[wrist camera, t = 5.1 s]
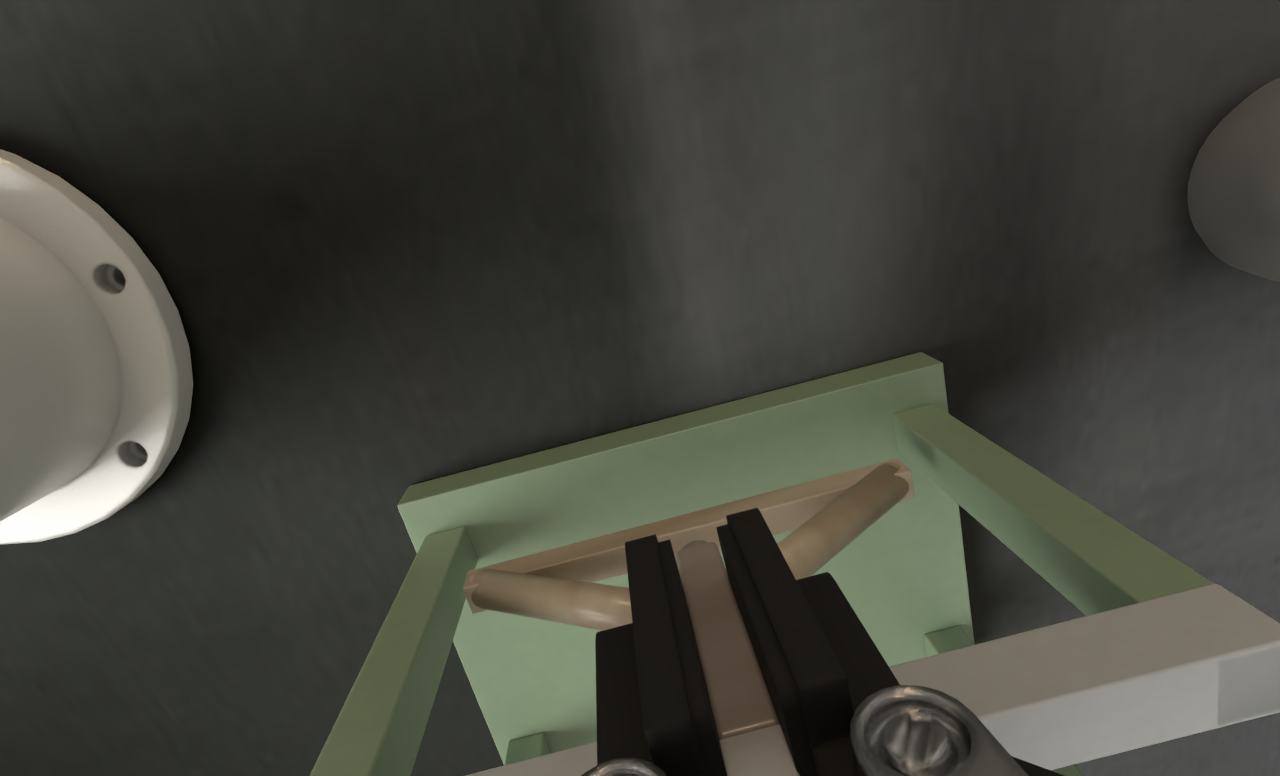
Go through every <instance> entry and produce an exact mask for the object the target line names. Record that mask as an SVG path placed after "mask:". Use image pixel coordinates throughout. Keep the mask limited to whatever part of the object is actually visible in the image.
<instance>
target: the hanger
mask: <svg viewBox="0 0 1280 776" xmlns="http://www.w3.org/2000/svg"><path fill="white" fill-rule="evenodd" d="M914 497H915V496H914V488H913V481H912V473H911V470H910V469H909V468H908V467H906V466H905V465H904V464H903V463H902V462H901V461H900V460H898V459H892V460H888V461H884V462H881V463H877V464H873V465H869V466H865V467H862V468H858V469H854V470H850V471H846V472H843V473H839V474H835V475H831V476H827V477H824V478H820V479H816V480H812V481H808V482H805V483H801V484H797V485H793V486H789V487H786V488H782V489H778V490H774V491H770V492H767V493H763V494H759V495H755V496H751V497H748V498H744V499H740V500H736V501H732V502H729V503H725V504H721V505H717V506H713V507H710V508H706V509H702V510H698V511H694V512H691V513H687V514H683V515H679V516H675V517H672V518H668V519H664V520H660V521H656V522H653V523H649V524H645V525H641V526H637V527H634V528H630V529H626V530H622V531H618V532H615V533H611V534H607V535H603V536H599V537H596V538H592V539H588V540H584V541H580V542H577V543H573V544H569V545H565V546H561V547H558V548H554V549H550V550H546V551H542V552H539V553H535V554H531V555H527V556H523V557H520V558H516V559H512V560H508V561H504V562H501V563H497V564H493V565H489V566H485V567H482V568H478V569H474V570H470V571H468V573H467V577H466V580H465V583H464V586H463V591H464V593H465V596H466V598H467V601H468V603H469V606H470V608H471V611H472V613H473V614H475V613H479V612H483V611H486V610H492V611H497V612H503V613H508V614H514V615H519V616H525V617H530V618H536V619H541V620H547V621H552V622H557V623H563V624H568V625H574V626H579V627H585V628H590V629H596V630H601V631H603V630H607V629H611V628H615V627H619V626H623V625H626V624H630V623H633V622H632V612H631V602H630V592H629V588H627V587H620V586H612V585H605V584H598V583H593V582H597V581H601V580H604V579H608V578H612V577H616V576H620V575H623V574H627V573H628V572H627V562H626V553H625V542H628V541H631V540H635V539H639V538H643V537H647V536H650V535H654V534H656V536H657V539H658V542H662V541H666V540H669V539H670V541H671V544H672V548H673V552H674V555H675V559H676V563H677V566H678V570H679V574H680V578H681V581H682V585H683V589H684V593H685V597H686V601H687V606H688V610H689V614H690V618H691V623H692V627H693V631H694V635H695V640H696V644H697V648H698V652H699V657H700V661H701V665H702V669H703V673H704V678H705V682H706V686H707V690H708V695H709V699H710V703H711V707H712V712H713V716H714V720H715V724H716V729H717V733H718V737H719V742H720V746H721V750H722V754H723V759H724V763H725V767H726V771H727V775H728V776H800V774H799V773H798V772H797V770H796V767H795V765H794V762H793V759H792V756H791V753H790V750H789V748H788V745H787V742H786V739H785V736H784V733H783V731H782V728H781V725H780V724H779V720H778V717H777V714H776V712H775V709H774V706H773V703H772V700H771V697H770V695H769V692H768V689H767V686H766V683H765V681H764V678H763V675H762V672H761V669H760V666H759V664H758V661H757V658H756V655H755V652H754V649H753V647H752V644H751V641H750V638H749V635H748V633H747V630H746V627H745V624H744V621H743V618H742V616H741V613H740V610H739V607H738V604H737V601H736V599H735V596H734V593H733V590H732V587H731V585H730V582H729V579H728V575H727V571H726V568H725V565H724V562H723V559H722V557H721V554H720V551H719V549H721V546H720V542H719V538H718V533H717V528H716V527H719V526H723V525H726V524H727V519H726V516H727V515H730V514H734V513H738V512H742V511H746V510H750V509H753V508H758V509H759V510H760V512H761V514H762V516H763V518H764V520H765V522H766V524H767V526H768V528H769V529H770V531H771V533H772V535H776V534H779V533H783V532H787V531H791V530H794V531H793V532H792V533H790V534H789V535H788V536H787V537H785V538H784V539H783V540H781V541H780V542H779V543H777V545H778V547H779V549H780V550H781V552H782V554H783V556H784V558H785V560H786V562H787V564H788V566H789V568H790V569H791V571H792V573H793V575H794V577H795V579H796V580H798V579H802V578H806V577H810V576H812V575H813V574H814V573H816V572H817V571H818V570H819V569H820V568H821V567H823V566H824V565H825V564H826V563H827V562H829V561H830V560H831V559H832V558H833V557H834V556H836V555H837V554H838V553H839V552H840V551H842V550H843V549H844V548H845V547H846V546H847V545H849V544H850V543H851V542H852V541H853V540H855V539H856V538H857V537H858V536H859V535H860V534H862V533H863V532H864V531H865V530H866V529H868V528H869V527H870V526H871V525H872V524H873V523H875V522H876V521H877V520H878V519H879V518H881V517H882V516H883V515H884V514H885V513H886V512H888V511H889V510H890V509H891V508H892V507H894V506H895V505H896V504H897V503H898V502H901V501H905V500H909V499H912V498H914ZM795 529H796V530H795Z"/></svg>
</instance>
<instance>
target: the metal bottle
mask: <svg viewBox="0 0 1280 776" xmlns="http://www.w3.org/2000/svg"><path fill="white" fill-rule="evenodd" d="M1187 203H1188V209H1189V216H1190V218H1191V221H1192V223H1193V226H1194V228H1195V230H1196V232H1197V233H1198V235H1199V236H1200V238H1201V239H1202V240H1203V242H1204V243H1205V245H1206V246H1207V247H1208V249H1209V250H1210V251H1211V253H1212V254H1214V255H1215V256H1216V257H1217V258H1219V259H1220V260H1221V261H1222V262H1224V263H1226V264H1228V265H1230V266H1232V267H1234V268H1236V269H1239V270H1242V271H1245V272H1248V273H1251V274H1254V275H1257V276H1260V277H1263V278H1266V279H1269V280H1272V281H1276V282H1280V78H1278V79H1276V80H1273V81H1271V82H1269V83H1268V84H1266V85H1264V86H1263V87H1261V88H1260V89H1258V90H1257V91H1255V92H1253V93H1252V94H1251V95H1249V96H1248V97H1247V98H1246V99H1245V100H1244V101H1242V102H1241V103H1240V104H1239V105H1238V106H1237V107H1236V108H1234V109H1233V110H1232V111H1231V112H1230V113H1229V114H1228V115H1227V116H1226V117H1225V118H1224V119H1222V120H1221V121H1220V123H1219V124H1218V125H1217V126H1216V127H1215V129H1214V130H1213V131H1212V132H1211V133H1210V134H1209V136H1208V137H1207V139H1206V141H1205V142H1204V144H1203V145H1202V147H1201V149H1200V150H1199V152H1198V155H1197V157H1196V159H1195V162H1194V164H1193V167H1192V170H1191V174H1190V178H1189V182H1188V194H1187Z"/></svg>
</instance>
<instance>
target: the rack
mask: <svg viewBox="0 0 1280 776" xmlns="http://www.w3.org/2000/svg"><path fill="white" fill-rule="evenodd" d="M892 459H898V460H900V461H901V462H902V463H903V464H904V465H905V466H906V467H908V468H909V469H910V470H911V473H912V481H913V488H914V496H915V497H914V498H912V499H909V500H905V501H901V502H898V503H897V504H896V505H895V506H894V507H892V508H891V509H890V510H889V511H888V512H886V513H885V514H884V515H883V516H882V517H881V518H879V519H878V520H877V521H876V522H875V523H873V524H872V525H871V526H870V527H869V528H868V529H866V530H865V531H864V532H863V533H862V534H860V535H859V536H858V537H857V538H856V539H855V540H853V541H852V542H851V543H850V544H849V545H847V546H846V547H845V548H844V549H843V550H842V551H840V552H839V553H838V554H837V555H836V556H834V557H833V558H832V559H831V560H830V561H829V562H827V563H826V564H825V565H824V566H823V567H821V568H820V569H819V570H818V571H817V572H816V573H814V574H813V575H812V576H814V575H817V574H821V573H825V572H828V573H830V574H831V575H832V577H833V578H834V579H835V581H836V583H837V584H838V586H839V588H840V589H841V591H842V592H843V594H844V596H845V597H846V599H847V600H848V602H849V604H850V605H851V607H852V608H853V610H854V612H855V613H856V615H857V616H858V618H859V620H860V621H861V623H862V624H863V626H864V628H865V629H866V631H867V632H868V634H869V636H870V637H871V639H872V640H873V642H874V644H875V645H876V647H877V648H878V650H879V652H880V653H881V655H882V657H883V658H884V660H885V661H886V663H887V665H888V666H889V668H890V669H891V671H892V673H893V674H894V676H895V677H896V679H897V681H898V682H899V684H900V685H915V686H924V687H928V688H931V689H935V690H939V691H942V692H944V693H946V694H948V695H950V696H951V697H953V698H955V699H957V700H959V701H960V702H961V703H962V704H964V705H965V706H966V707H967V708H968V709H969V710H970V711H972V712H973V713H974V714H975V715H976V717H977V718H978V719H979V720H980V721H981V722H982V723H983V724H984V726H985V727H986V728H987V729H988V730H989V731H990V732H991V734H992V735H993V736H994V737H995V738H996V739H997V740H998V742H999V743H1000V744H1001V745H1002V746H1003V747H1004V748H1005V750H1006V751H1007V752H1008V753H1009V754H1010V755H1011V756H1013V757H1015V758H1018V759H1021V760H1023V761H1026V762H1029V763H1032V764H1034V765H1037V766H1040V767H1043V768H1045V769H1048V770H1051V771H1053V772H1056V773H1059V774H1062V775H1064V776H1084V775H1083V774H1082V773H1081V771H1080V770H1079V769H1078V768H1077V767H1076V765H1075V764H1078V763H1082V762H1086V761H1090V760H1094V759H1098V758H1101V757H1105V756H1109V755H1113V754H1117V753H1121V752H1125V751H1129V750H1133V749H1137V748H1141V747H1145V746H1149V745H1153V744H1157V743H1160V742H1164V741H1168V740H1172V739H1176V738H1180V737H1184V736H1188V735H1192V734H1196V733H1200V732H1204V731H1208V730H1212V729H1216V728H1219V727H1223V726H1227V725H1231V724H1235V723H1239V722H1243V721H1247V720H1251V719H1255V718H1259V717H1263V716H1267V715H1271V714H1275V713H1279V712H1280V623H1278V622H1277V621H1275V620H1274V619H1272V618H1270V617H1269V616H1267V615H1266V614H1264V613H1263V612H1261V611H1259V610H1258V609H1256V608H1255V607H1253V606H1252V605H1250V604H1248V603H1247V602H1245V601H1244V600H1242V599H1241V598H1239V597H1237V596H1236V595H1234V594H1233V593H1231V592H1230V591H1228V590H1226V589H1225V588H1223V587H1222V586H1220V585H1219V584H1214V583H1212V582H1211V581H1209V580H1208V579H1206V578H1204V577H1203V576H1201V575H1200V574H1198V573H1197V572H1195V571H1194V570H1192V569H1190V568H1189V567H1187V566H1186V565H1184V564H1183V563H1181V562H1179V561H1178V560H1176V559H1175V558H1173V557H1172V556H1170V555H1169V554H1167V553H1165V552H1164V551H1162V550H1161V549H1159V548H1158V547H1156V546H1154V545H1153V544H1151V543H1150V542H1148V541H1147V540H1145V539H1144V538H1142V537H1140V536H1139V535H1137V534H1136V533H1134V532H1133V531H1131V530H1129V529H1128V528H1126V527H1125V526H1123V525H1122V524H1120V523H1119V522H1117V521H1115V520H1114V519H1112V518H1111V517H1109V516H1108V515H1106V514H1104V513H1103V512H1101V511H1100V510H1098V509H1097V508H1095V507H1093V506H1092V505H1090V504H1089V503H1087V502H1086V501H1084V500H1083V499H1081V498H1079V497H1078V496H1076V495H1075V494H1073V493H1072V492H1070V491H1068V490H1067V489H1065V488H1064V487H1062V486H1061V485H1059V484H1058V483H1056V482H1054V481H1053V480H1051V479H1050V478H1048V477H1047V476H1045V475H1043V474H1042V473H1040V472H1039V471H1037V470H1036V469H1034V468H1033V467H1031V466H1029V465H1028V464H1026V463H1025V462H1023V461H1022V460H1020V459H1018V458H1017V457H1015V456H1014V455H1012V454H1011V453H1009V452H1008V451H1006V450H1004V449H1003V448H1001V447H1000V446H998V445H997V444H995V443H993V442H992V441H990V440H989V439H987V438H986V437H984V436H982V435H981V434H979V433H978V432H976V431H975V430H973V429H972V428H970V427H968V426H967V425H965V424H964V423H962V422H961V421H959V420H957V419H956V418H954V417H953V416H951V415H950V414H949V413H948V404H947V395H946V386H945V377H944V368H943V363H942V362H940V361H938V360H936V359H934V358H932V357H930V356H928V355H926V354H924V353H922V352H919V353H915V354H911V355H907V356H904V357H900V358H896V359H892V360H888V361H885V362H881V363H877V364H873V365H869V366H865V367H862V368H858V369H854V370H850V371H846V372H843V373H839V374H835V375H831V376H827V377H823V378H820V379H816V380H812V381H808V382H804V383H800V384H797V385H793V386H789V387H785V388H781V389H778V390H774V391H770V392H766V393H762V394H758V395H755V396H751V397H747V398H743V399H739V400H735V401H732V402H728V403H724V404H720V405H716V406H713V407H709V408H705V409H701V410H697V411H693V412H690V413H686V414H682V415H678V416H674V417H671V418H667V419H663V420H659V421H655V422H651V423H648V424H644V425H640V426H636V427H632V428H628V429H625V430H621V431H617V432H613V433H609V434H606V435H602V436H598V437H594V438H590V439H586V440H583V441H579V442H575V443H571V444H567V445H564V446H560V447H556V448H552V449H548V450H544V451H541V452H537V453H533V454H529V455H525V456H521V457H518V458H514V459H510V460H506V461H502V462H499V463H495V464H491V465H487V466H483V467H479V468H476V469H472V470H468V471H464V472H460V473H457V474H453V475H449V476H445V477H441V478H437V479H434V480H430V481H426V482H422V483H418V484H414V485H411V486H409V487H408V489H407V490H406V492H405V494H404V495H403V497H402V498H401V500H400V502H399V503H398V505H397V507H398V509H399V511H400V514H401V516H402V519H403V521H404V524H405V526H406V528H407V531H408V533H409V536H410V538H411V541H412V543H413V545H414V548H415V550H416V553H417V555H416V557H415V559H414V561H413V563H412V565H411V567H410V569H409V571H408V574H407V576H406V578H405V580H404V582H403V584H402V586H401V588H400V590H399V592H398V594H397V596H396V598H395V600H394V602H393V605H392V607H391V609H390V611H389V613H388V615H387V617H386V619H385V621H384V623H383V625H382V627H381V629H380V631H379V633H378V636H377V638H376V640H375V642H374V644H373V646H372V648H371V650H370V652H369V654H368V656H367V658H366V660H365V662H364V664H363V667H362V669H361V671H360V673H359V675H358V677H357V679H356V681H355V683H354V685H353V687H352V689H351V691H350V693H349V695H348V697H347V700H346V702H345V704H344V706H343V708H342V710H341V712H340V714H339V716H338V718H337V720H336V722H335V724H334V726H333V728H332V731H331V733H330V735H329V737H328V739H327V741H326V743H325V745H324V747H323V749H322V751H321V753H320V755H319V757H318V759H317V762H316V764H315V766H314V768H313V770H312V772H311V774H310V776H411V772H412V769H413V766H414V763H415V760H416V756H417V753H418V750H419V747H420V744H421V740H422V737H423V734H424V731H425V728H426V724H427V721H428V718H429V715H430V712H431V708H432V705H433V702H434V699H435V696H436V693H437V689H438V686H439V683H440V680H441V677H442V673H443V670H444V667H445V664H446V661H447V657H448V654H449V651H450V648H451V645H452V641H453V642H454V645H455V647H456V650H457V652H458V654H459V657H460V659H461V662H462V664H463V667H464V669H465V671H466V674H467V676H468V679H469V681H470V684H471V686H472V688H473V691H474V693H475V696H476V698H477V700H478V703H479V705H480V708H481V710H482V713H483V715H484V717H485V720H486V722H487V725H488V727H489V730H490V732H491V734H492V737H493V739H494V742H495V744H496V747H497V749H498V751H499V754H500V756H501V759H502V761H503V764H504V766H501V767H497V768H493V769H489V770H485V771H481V772H477V773H473V774H469V775H465V776H581V775H582V774H584V773H585V772H587V771H588V770H590V769H592V768H593V767H595V766H597V718H596V650H595V640H596V633H597V632H600V631H601V630H596V629H590V628H585V627H579V626H574V625H568V624H563V623H557V622H552V621H547V620H541V619H536V618H530V617H525V616H519V615H514V614H508V613H503V612H497V611H492V610H486V611H483V612H479V613H475V614H473V613H472V611H471V608H470V606H469V603H468V601H467V598H466V596H465V593H464V591H463V586H464V583H465V580H466V577H467V573H468V571H470V570H474V569H478V568H482V567H485V566H489V565H493V564H497V563H501V562H504V561H508V560H512V559H516V558H520V557H523V556H527V555H531V554H535V553H539V552H542V551H546V550H550V549H554V548H558V547H561V546H565V545H569V544H573V543H577V542H580V541H584V540H588V539H592V538H596V537H599V536H603V535H607V534H611V533H615V532H618V531H622V530H626V529H630V528H634V527H637V526H641V525H645V524H649V523H653V522H656V521H660V520H664V519H668V518H672V517H675V516H679V515H683V514H687V513H691V512H694V511H698V510H702V509H706V508H710V507H713V506H717V505H721V504H725V503H729V502H732V501H736V500H740V499H744V498H748V497H751V496H755V495H759V494H763V493H767V492H770V491H774V490H778V489H782V488H786V487H789V486H793V485H797V484H801V483H805V482H808V481H812V480H816V479H820V478H824V477H827V476H831V475H835V474H839V473H843V472H846V471H850V470H854V469H858V468H862V467H865V466H869V465H873V464H877V463H881V462H884V461H888V460H892ZM959 505H960V506H961V507H962V508H963V509H965V510H966V511H967V512H968V513H969V514H970V515H971V516H973V517H974V518H975V519H976V520H977V521H978V522H979V523H981V524H982V525H983V526H984V527H985V528H986V529H988V530H989V531H990V532H991V533H992V534H993V535H994V536H996V537H997V538H998V539H999V540H1000V541H1001V542H1002V543H1004V544H1005V545H1006V546H1007V547H1008V548H1009V549H1010V550H1012V551H1013V552H1014V553H1015V554H1016V555H1017V556H1019V557H1020V558H1021V559H1022V560H1023V561H1024V562H1025V563H1027V564H1028V565H1029V566H1030V567H1031V568H1032V569H1033V570H1035V571H1036V572H1037V573H1038V574H1039V575H1040V576H1041V577H1043V578H1044V579H1045V580H1046V581H1047V582H1048V583H1050V584H1051V585H1052V586H1053V587H1054V588H1055V589H1056V590H1058V591H1059V592H1060V593H1061V594H1062V595H1063V596H1064V597H1066V598H1067V599H1068V600H1069V601H1070V602H1071V603H1073V604H1074V605H1075V606H1076V607H1077V608H1078V609H1079V610H1081V611H1082V612H1083V613H1084V614H1085V615H1086V616H1085V617H1081V618H1077V619H1073V620H1070V621H1066V622H1062V623H1058V624H1054V625H1050V626H1046V627H1042V628H1038V629H1034V630H1031V631H1027V632H1023V633H1019V634H1015V635H1011V636H1007V637H1003V638H999V639H996V640H992V641H988V642H984V643H980V644H976V645H975V644H974V636H973V627H972V618H971V609H970V600H969V592H968V583H967V574H966V565H965V556H964V547H963V538H962V529H961V520H960V511H959ZM795 530H796V529H795ZM793 531H794V530H791V531H787V532H783V533H779V534H776V535H773V537H774V539H775V541H776V543H779V542H780V541H781V540H783V539H784V538H785V537H787V536H788V535H789V534H790V533H792V532H793ZM719 551H720V554H721V557H722V559H723V562H724V558H723V554H722V550H721V549H719ZM724 565H725V563H724ZM725 568H726V567H725ZM593 583H598V584H605V585H612V586H620V587H627V588H629V582H628V573H627V574H623V575H620V576H616V577H612V578H608V579H604V580H601V581H597V582H593Z"/></svg>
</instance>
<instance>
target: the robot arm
mask: <svg viewBox="0 0 1280 776" xmlns="http://www.w3.org/2000/svg"><path fill="white" fill-rule="evenodd" d="M123 275H124V276H123ZM192 393H193V375H192V365H191V355H190V347H189V344H188V341H187V337H186V334H185V331H184V328H183V324H182V321H181V318H180V315H179V311H178V309H177V307H176V305H175V303H174V301H173V299H172V298H171V296H170V294H169V292H168V290H167V288H166V286H165V284H164V282H163V280H162V278H161V276H160V274H159V273H158V271H157V270H156V269H155V267H154V266H153V265H152V263H151V262H150V261H149V259H148V258H147V257H146V255H145V254H144V253H143V251H142V250H141V249H140V247H139V246H138V245H137V243H136V242H135V241H134V239H133V238H132V237H131V236H130V235H129V234H128V233H127V232H126V231H125V230H124V229H123V228H122V227H121V226H120V225H119V224H118V223H117V222H116V221H115V220H114V219H113V218H112V217H111V216H110V215H109V214H108V213H107V212H106V211H105V210H104V209H103V208H101V207H100V206H99V205H98V204H97V203H96V202H94V201H93V200H91V199H90V198H89V197H87V196H86V195H84V194H83V193H82V192H80V191H79V190H77V189H76V188H75V187H73V186H72V185H70V184H69V183H68V182H66V181H65V180H63V179H62V178H61V177H59V176H57V175H55V174H53V173H51V172H50V171H48V170H46V169H44V168H42V167H40V166H38V165H36V164H34V163H32V162H30V161H28V160H26V159H24V158H22V157H20V156H18V155H16V154H13V153H10V152H7V151H4V150H1V149H0V544H14V543H29V542H41V541H45V540H49V539H53V538H58V537H62V536H66V535H70V534H74V533H77V532H79V531H81V530H83V529H86V528H88V527H90V526H92V525H94V524H96V523H99V522H101V521H103V520H105V519H107V518H109V517H110V516H112V515H113V514H115V513H116V512H118V511H119V510H121V509H122V508H124V507H125V506H126V505H128V504H129V503H131V502H132V501H134V500H135V499H137V498H138V497H139V496H140V495H141V494H142V493H143V492H145V491H146V490H147V489H148V488H149V487H150V486H151V485H152V484H153V483H154V482H155V481H156V480H157V479H158V478H159V477H160V476H161V475H162V474H163V472H164V471H165V469H166V468H167V466H168V465H169V463H170V461H171V460H172V458H173V457H174V455H175V454H176V452H177V451H178V449H179V447H180V444H181V441H182V438H183V435H184V433H185V430H186V427H187V424H188V421H189V419H190V410H191V402H192ZM726 519H727V524H726V525H723V526H719V527H716V528H717V533H718V538H719V542H720V546H721V550H722V554H723V558H724V563H725V567H726V571H727V575H728V579H729V582H730V585H731V587H732V590H733V593H734V596H735V599H736V601H737V604H738V607H739V610H740V613H741V616H742V618H743V621H744V624H745V627H746V630H747V633H748V635H749V638H750V641H751V644H752V647H753V649H754V652H755V655H756V658H757V661H758V664H759V666H760V669H761V672H762V675H763V678H764V681H765V683H766V686H767V689H768V692H769V695H770V697H771V700H772V703H773V706H774V709H775V712H776V714H777V717H778V720H779V724H780V725H781V728H782V731H783V733H784V736H785V739H786V742H787V745H788V748H789V750H790V753H791V756H792V759H793V762H794V765H795V767H796V770H797V772H798V773H799V774H800V776H1064V775H1062V774H1059V773H1056V772H1053V771H1051V770H1048V769H1045V768H1043V767H1040V766H1037V765H1034V764H1032V763H1029V762H1026V761H1023V760H1021V759H1018V758H1015V757H1013V756H1011V755H1010V754H1009V753H1008V752H1007V751H1006V750H1005V748H1004V747H1003V746H1002V745H1001V744H1000V743H999V742H998V740H997V739H996V738H995V737H994V736H993V735H992V734H991V732H990V731H989V730H988V729H987V728H986V727H985V726H984V724H983V723H982V722H981V721H980V720H979V719H978V718H977V717H976V715H975V714H974V713H973V712H972V711H970V710H969V709H968V708H967V707H966V706H965V705H964V704H962V703H961V702H960V701H959V700H957V699H955V698H953V697H951V696H950V695H948V694H946V693H944V692H942V691H939V690H935V689H931V688H928V687H924V686H915V685H900V684H899V682H898V681H897V679H896V677H895V676H894V674H893V673H892V671H891V669H890V668H889V666H888V665H887V663H886V661H885V660H884V658H883V657H882V655H881V653H880V652H879V650H878V648H877V647H876V645H875V644H874V642H873V640H872V639H871V637H870V636H869V634H868V632H867V631H866V629H865V628H864V626H863V624H862V623H861V621H860V620H859V618H858V616H857V615H856V613H855V612H854V610H853V608H852V607H851V605H850V604H849V602H848V600H847V599H846V597H845V596H844V594H843V592H842V591H841V589H840V588H839V586H838V584H837V583H836V581H835V579H834V578H833V577H832V575H831V574H830V573H828V572H825V573H821V574H817V575H814V576H810V577H806V578H802V579H798V580H796V579H795V577H794V575H793V573H792V571H791V569H790V568H789V566H788V564H787V562H786V560H785V558H784V556H783V554H782V552H781V550H780V549H779V547H778V545H777V543H776V541H775V539H774V537H773V535H772V533H771V531H770V529H769V528H768V526H767V524H766V522H765V520H764V518H763V516H762V514H761V512H760V510H759V509H758V508H753V509H750V510H746V511H742V512H738V513H734V514H730V515H727V516H726ZM625 553H626V562H627V572H628V582H629V592H630V602H631V612H632V622H633V623H630V624H626V625H623V626H619V627H615V628H611V629H607V630H603V631H600V632H597V633H596V640H595V650H596V718H597V766H595V767H593V768H592V769H590V770H588V771H587V772H585V773H584V774H582V775H581V776H728V775H727V771H726V767H725V763H724V759H723V754H722V750H721V746H720V742H719V737H718V733H717V729H716V724H715V720H714V716H713V712H712V707H711V703H710V699H709V695H708V690H707V686H706V682H705V678H704V673H703V669H702V665H701V661H700V657H699V652H698V648H697V644H696V640H695V635H694V631H693V627H692V623H691V618H690V614H689V610H688V606H687V601H686V597H685V593H684V589H683V585H682V581H681V578H680V574H679V570H678V566H677V563H676V559H675V555H674V552H673V548H672V544H671V541H670V539H669V540H666V541H662V542H658V539H657V536H656V534H654V535H650V536H647V537H643V538H639V539H635V540H631V541H628V542H625Z"/></svg>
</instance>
